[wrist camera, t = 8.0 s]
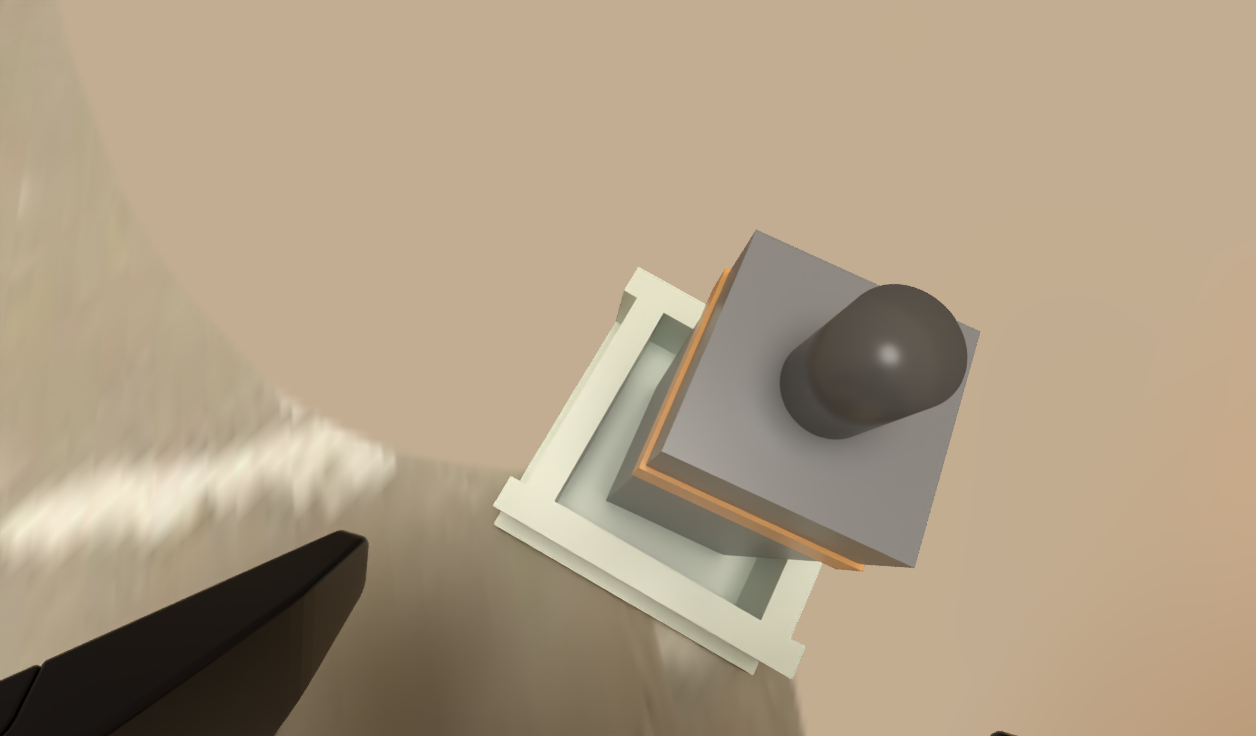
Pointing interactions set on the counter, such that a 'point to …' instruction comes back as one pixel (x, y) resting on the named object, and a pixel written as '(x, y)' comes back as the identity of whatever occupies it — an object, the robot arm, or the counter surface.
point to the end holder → (631, 545)
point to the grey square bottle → (802, 416)
